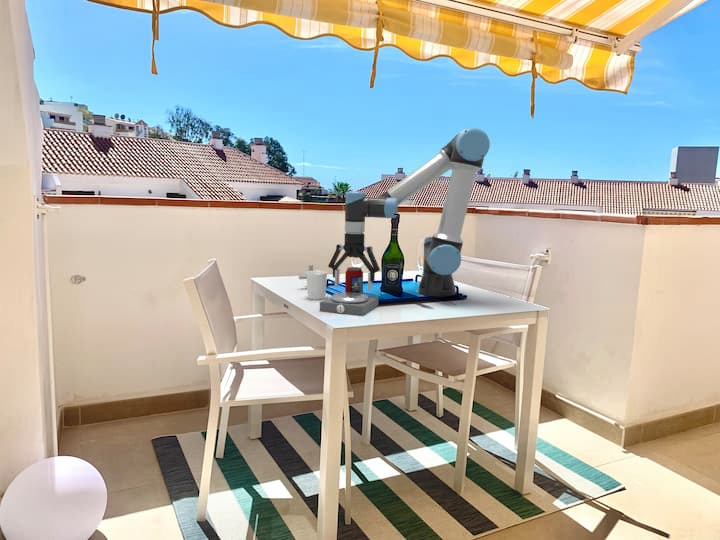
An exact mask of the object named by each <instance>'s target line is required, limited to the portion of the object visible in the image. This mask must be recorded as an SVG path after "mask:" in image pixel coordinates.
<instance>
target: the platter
mask: <svg viewBox="0 0 720 540" xmlns="http://www.w3.org/2000/svg"><path fill="white" fill-rule="evenodd" d="M367 295H368V294H365V293H363V294H361V293H345V292H338V293H334V294H332V295H331V297H332V301H335V302H338V303H349V304H352V303H362V302H366V301H368V296H367Z"/></svg>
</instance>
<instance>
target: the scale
mask: <svg viewBox="0 0 720 540" xmlns="http://www.w3.org/2000/svg"><path fill="white" fill-rule="evenodd" d="M366 295H367V296H368V301H366V302H362V303H352V304H349V303H338V302H335V301H332V296H330V297H328V298H325V299H323V300H321V301H320V302H319V311H320V312H326V311H327V312H326V313H334V314H336V313H337V314H344V315H353V316H365V315H366V314H367V313H369V312H371V311H372V310H373V309H375V308H376V307H378V306H379V297H378V295H368V294H366Z"/></svg>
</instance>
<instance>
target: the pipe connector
mask: <svg viewBox="0 0 720 540" xmlns="http://www.w3.org/2000/svg"><path fill="white" fill-rule="evenodd" d="M309 271H314V264H308V272H309ZM298 279H299V280H307V276H306V273H305V274H299V275H298Z"/></svg>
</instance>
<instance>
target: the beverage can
mask: <svg viewBox="0 0 720 540" xmlns="http://www.w3.org/2000/svg"><path fill="white" fill-rule="evenodd" d="M344 276H345V277H344V278H345V279H344V282H345V283H344V284H345V285H344V287H345V291H344V293H361V294H364V293H363V292H364V272H363V270H362V267H357V266H356V267H355V266H351V267H349V266H348V267H347V269H346V271H345V275H344Z"/></svg>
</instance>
